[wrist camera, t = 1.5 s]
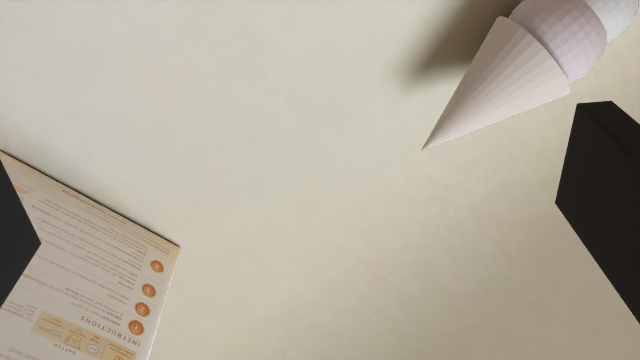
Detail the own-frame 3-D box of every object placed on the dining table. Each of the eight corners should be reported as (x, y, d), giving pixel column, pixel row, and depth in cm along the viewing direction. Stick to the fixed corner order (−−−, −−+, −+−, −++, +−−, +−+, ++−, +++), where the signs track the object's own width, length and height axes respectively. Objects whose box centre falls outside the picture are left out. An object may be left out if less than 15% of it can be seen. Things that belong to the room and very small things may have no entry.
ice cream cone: (397, 122, 36) (578, -37, 33) (456, 190, 34) (651, 30, 31) (379, 106, 30) (598, -90, 27) (450, 187, 28) (689, -10, 25)
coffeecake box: (-37, 209, 39) (-282, 474, 23) (-1, 145, 36) (-253, 397, 20) (141, 296, 44) (46, 559, 28) (184, 247, 42) (107, 509, 25)
